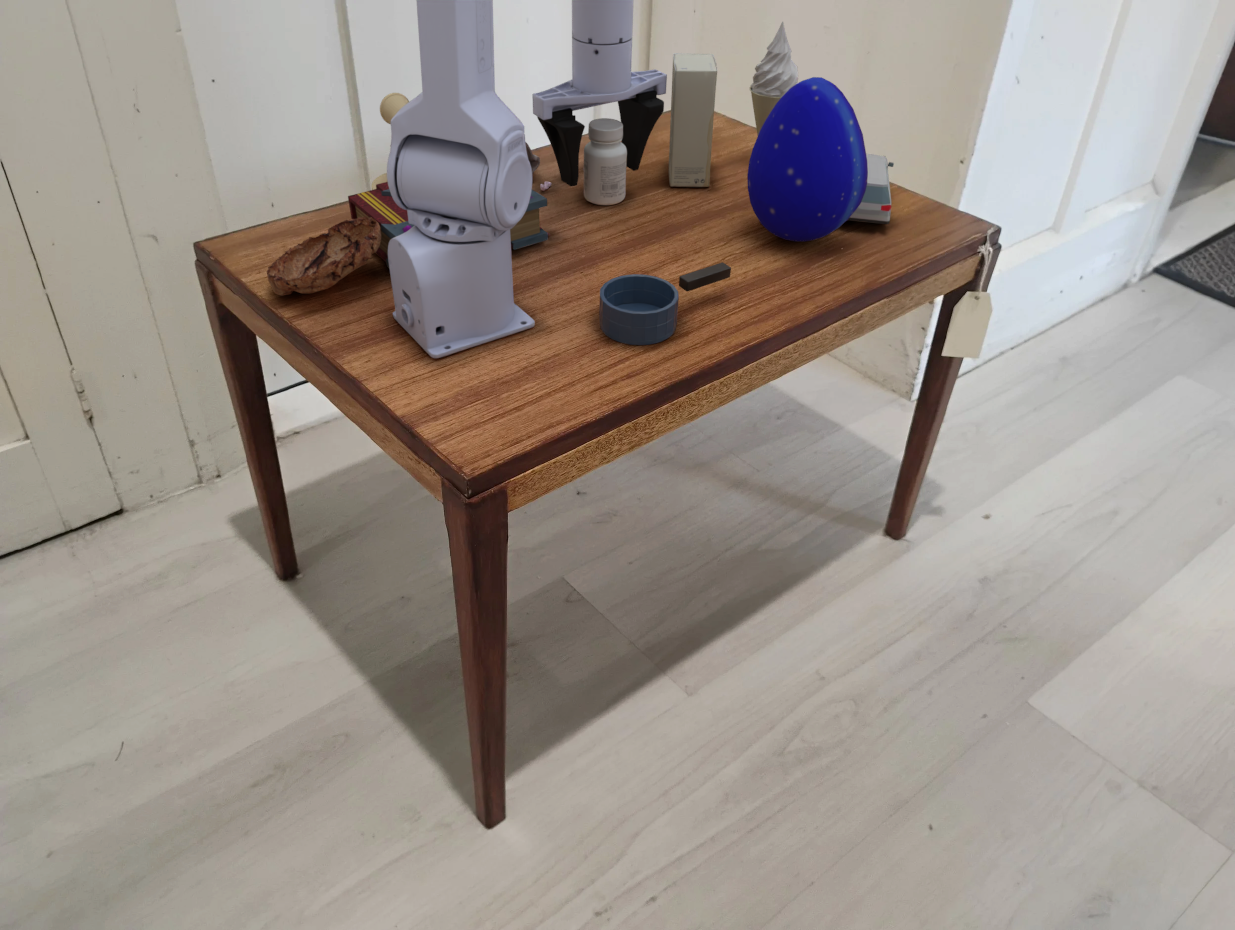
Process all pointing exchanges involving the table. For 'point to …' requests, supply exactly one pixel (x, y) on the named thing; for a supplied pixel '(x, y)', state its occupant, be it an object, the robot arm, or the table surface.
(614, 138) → the pill bottle
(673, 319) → the dark grey open cylinder
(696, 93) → the cosmetic box
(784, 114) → the ornament
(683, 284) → the dark grey rectangular bar
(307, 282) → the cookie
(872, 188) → the toy car
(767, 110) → the ice cream cone
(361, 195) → the decorative book
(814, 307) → the table surface
